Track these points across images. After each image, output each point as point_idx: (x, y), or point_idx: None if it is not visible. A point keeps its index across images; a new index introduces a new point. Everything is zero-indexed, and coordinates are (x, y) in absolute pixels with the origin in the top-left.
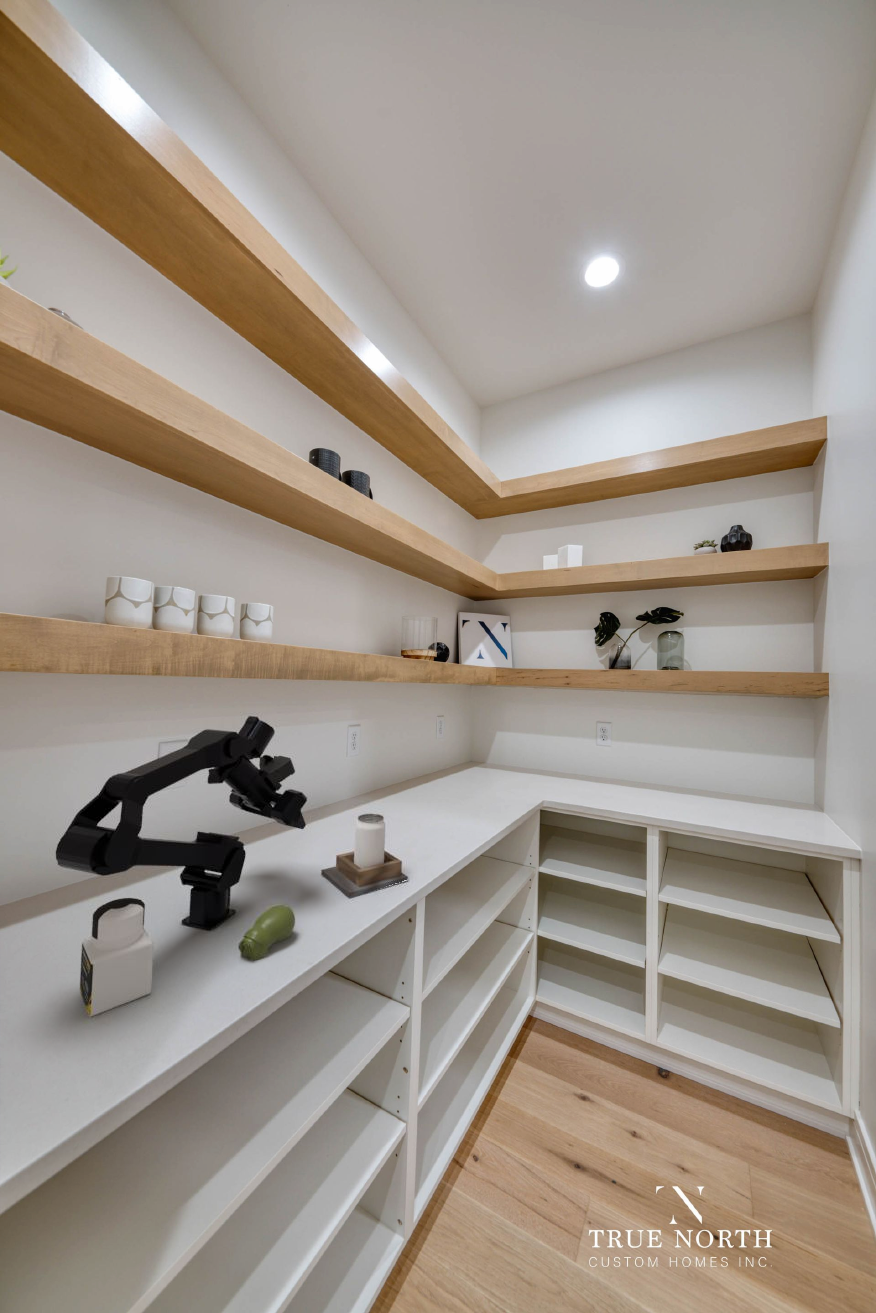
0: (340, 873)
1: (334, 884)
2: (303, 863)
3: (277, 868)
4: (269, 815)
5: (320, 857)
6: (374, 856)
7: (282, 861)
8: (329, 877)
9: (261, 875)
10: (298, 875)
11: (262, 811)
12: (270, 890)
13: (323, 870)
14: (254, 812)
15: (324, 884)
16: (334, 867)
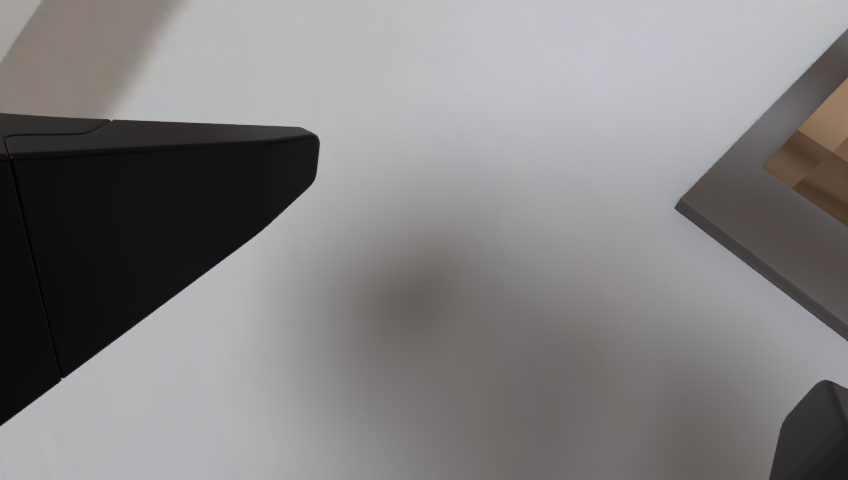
0: (823, 216)
1: (832, 325)
2: (514, 111)
3: (411, 198)
4: (240, 228)
5: (568, 24)
6: None
7: (400, 120)
8: (774, 272)
9: (368, 292)
10: (554, 248)
11: (132, 286)
12: (490, 453)
13: (696, 203)
14: (47, 383)
15: (757, 321)
16: (742, 151)
